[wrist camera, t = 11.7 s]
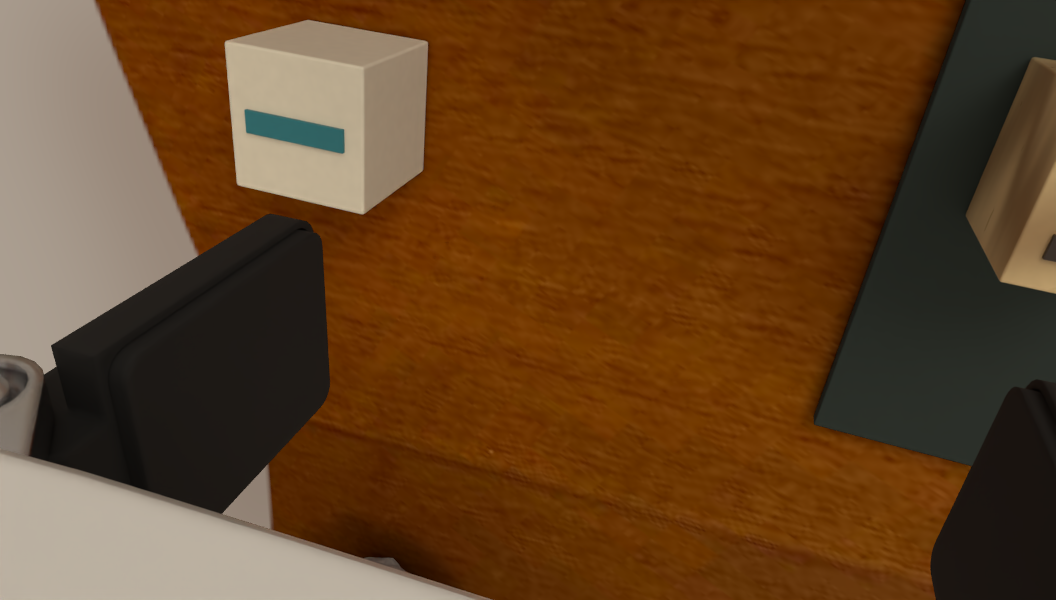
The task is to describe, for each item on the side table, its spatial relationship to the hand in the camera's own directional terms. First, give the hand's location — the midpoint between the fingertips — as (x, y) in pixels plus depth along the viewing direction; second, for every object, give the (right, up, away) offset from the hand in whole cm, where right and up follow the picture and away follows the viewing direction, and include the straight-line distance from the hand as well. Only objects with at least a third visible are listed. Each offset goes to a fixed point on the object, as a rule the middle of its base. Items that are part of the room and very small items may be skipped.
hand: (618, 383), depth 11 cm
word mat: (+13, +2, +12) cm, 18 cm away
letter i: (-7, +8, +15) cm, 19 cm away
